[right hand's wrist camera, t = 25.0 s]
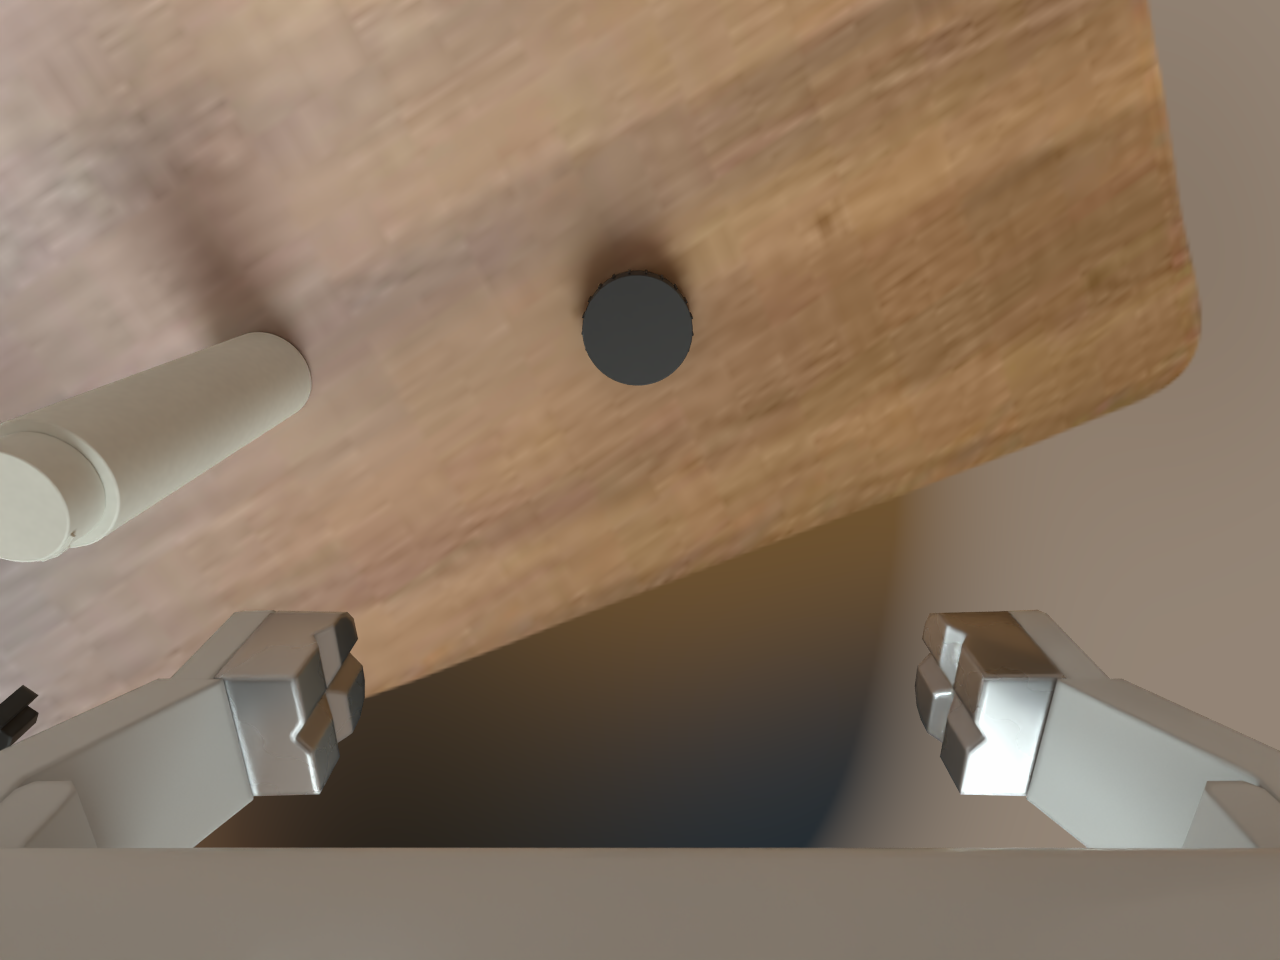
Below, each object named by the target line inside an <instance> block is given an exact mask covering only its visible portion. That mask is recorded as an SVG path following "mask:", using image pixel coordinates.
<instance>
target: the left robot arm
mask: <svg viewBox="0 0 1280 960" xmlns="http://www.w3.org/2000/svg"><path fill="white" fill-rule="evenodd" d="M37 696H38V695H37V694H36V693H34V692H33V691H31V690H30V689H28V688H27V687H25V686H24V685H22V686H21V687H20V688H19V689H18V690H16V691H15V692H14V693H13V694H12V695H10V696H9V697H8V698H7V699H6V700H5V701H3V702H2V703H1V704H0V751H1V750H3V749H5V748H7V747H10V746H11V745H12V744H13V743H14V742H15V741H17V740H18V739H19V738H20V737H21V736H22V735H23V734H24V733H25V732H26V731H27V730H28V729H29V728H31V727H32V726H33V725H34V724H35V723H36V721H37V717H38V712H36V711H35V710H33V709H32V708H30V707H29V706H28V705H29V704H30V703H31V702H32V701H33V700H34V699H35V698H36V697H37Z"/></svg>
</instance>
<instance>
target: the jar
mask: <svg viewBox="0 0 1280 960" xmlns="http://www.w3.org/2000/svg"><path fill="white" fill-rule="evenodd" d="M310 391H311V375H310V371H309V368H308V365H307V363H306V361H305V360H304V358H303V356H302V355H301V354H300V352H299V351H298V350H297V349H296V348H295V347H294V346H293V345H291V344H290V343H289V342H287V341H286V340H284V339H282V338H280V337H278V336H276V335H273V334H269V333H264V332H252V333H247V334H244V335H241V336H238V337H236V338H233V339H230V340H227V341H225V342H222V343H219V344H216V345H214V346H211V347H208V348H205V349H203V350H200V351H197V352H195V353H192V354H189V355H186V356H184V357H181V358H178V359H175V360H173V361H170V362H167V363H165V364H162V365H159V366H156V367H154V368H151V369H148V370H145V371H143V372H140V373H137V374H134V375H132V376H129V377H126V378H124V379H121V380H118V381H115V382H113V383H110V384H107V385H104V386H102V387H99V388H96V389H93V390H91V391H88V392H85V393H83V394H80V395H77V396H74V397H72V398H69V399H66V400H63V401H61V402H58V403H55V404H52V405H50V406H47V407H44V408H42V409H39V410H36V411H33V412H31V413H28V414H25V415H22V416H20V417H17V418H14V419H11V420H9V421H6V422H3V423H1V424H0V558H1V559H5V560H9V561H16V562H35V561H43V562H44V561H47V560H49V559H52V558H54V557H58V556H59V555H61V554H62V553H63V552H64V551H66V550H67V549H68V548H75V547H82V546H86V545H90V544H92V543H95V542H97V541H99V540H100V539H102V538H103V537H105V536H106V535H108V534H110V533H111V532H113V531H114V530H116V529H117V528H119V527H120V526H122V525H123V524H125V523H127V522H128V521H130V520H131V519H133V518H134V517H136V516H137V515H139V514H140V513H142V512H143V511H145V510H147V509H148V508H150V507H151V506H153V505H154V504H156V503H157V502H159V501H160V500H162V499H164V498H165V497H167V496H168V495H170V494H171V493H173V492H174V491H176V490H177V489H179V488H181V487H182V486H184V485H185V484H187V483H188V482H190V481H191V480H193V479H194V478H196V477H197V476H199V475H201V474H202V473H204V472H205V471H207V470H208V469H210V468H211V467H213V466H214V465H216V464H218V463H219V462H221V461H222V460H224V459H225V458H227V457H228V456H230V455H231V454H233V453H235V452H236V451H238V450H239V449H241V448H242V447H244V446H245V445H247V444H248V443H250V442H251V441H253V440H255V439H256V438H258V437H259V436H261V435H262V434H264V433H265V432H267V431H268V430H270V429H272V428H273V427H275V426H276V425H278V424H279V423H281V422H282V421H284V420H285V419H287V418H289V417H290V416H292V415H293V414H295V413H296V412H298V411H299V410H300V409H301V408H302V407H303V406H304V405H305V403H306V402H307V400H308V398H309V395H310Z"/></svg>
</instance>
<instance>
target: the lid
mask: <svg viewBox="0 0 1280 960" xmlns="http://www.w3.org/2000/svg"><path fill="white" fill-rule="evenodd" d="M588 302H589V304H588V307H587V309H586V312H584V314H583V317H582V318H584V319H583V327H582V335H583V341H584V345H585V350H586V351H587V353H588V355H589V357H590V359H591V360H592V362H593V363H594V365H595V366H596V367H597V368H598V369H599V370H600V371H601V372H602V373H603V374H605V375H606V376H608V377H609V378H611V379H613V380H615V381H617V382H620V383H623V384H628V385H647V384H652V383H655V382H658V381H660V380H662V379H664V378H666V377H668V376H669V375H670V374H672V373H673V372H674V371H675V370H676V369H677V368H678V367H679V366H680V365H681V363H682V362H683V361H684V359H685V357H686V355H687V353H688V352H689V348H690V345H691V341H692V336H693V327H692V319H693V317H692V314H691V312H689V309H688V307H687V304H686V303H687V300H686V298H685V297H684V298H683V296H682V294H681V293H680V292H679V290H678V289H677V286H676V285H675V284H674V285H673V284H672V283H671V282H669V281H668V280H667V279H665V278H664V277H663V275H661V276H660V275H657V274H655V273H651V272H648V271H647V270H645V271H631V269H630V270H629V271H628V272H624V273H621V274H618V275H615V274H614V275H613V276H612V278H610V279H609V280H607V281H606V282H605V283H603V284H600V285H599V287H598V289H597V291H596V292H595V293H594V295H593V296H592V297H591V296H590V298H589V301H588Z"/></svg>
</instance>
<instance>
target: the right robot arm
mask: <svg viewBox="0 0 1280 960" xmlns="http://www.w3.org/2000/svg"><path fill="white" fill-rule="evenodd" d="M357 639H358V637H357V632H356V628H355V623H354V619H353V618H352V617H351V615H350V614H349V613H348V612H317V611H274V610H258V611H240V612H235V613H234V614H233V615H232V616H231V617H230V618H229V619H228V620H227V621H226V622H225V623H224V624H223V625H222V626H221V627H220V628H219V629H218V630H217V631H216V632H215V633H214V634H213V635H212V636H211V637H210V638H209V639H208V640H207V641H206V642H205V643H204V644H203V645H202V646H201V647H200V649H199V650H198V651H197V652H196V653H195V654H194V655H193V656H192V657H191V658H190V659H189V660H188V661H187V662H186V663H185V664H184V665H183V666H182V667H181V668H180V669H179V670H178V671H177V672H176V673H175V674H174V675H173V676H172V677H171V678H170V679H157V680H154V681H152V682H150V683H148V684H146V685H144V686H141V687H139V688H137V689H135V690H133V691H130V692H128V693H126V694H124V695H122V696H119V697H117V698H115V699H113V700H111V701H108V702H106V703H104V704H102V705H100V706H97V707H95V708H93V709H91V710H89V711H86V712H84V713H82V714H80V715H78V716H75V717H73V718H71V719H69V720H67V721H64V722H62V723H60V724H58V725H56V726H53V727H51V728H49V729H47V730H45V731H42V732H40V733H38V734H36V735H34V736H31V737H29V738H27V739H25V740H23V741H21V742H18V743H16V744H14V745H12V746H10V747H7V748H5V749H3V750H1V751H0V960H1280V751H1279V750H1277V749H1274V748H1272V747H1270V746H1268V745H1266V744H1263V743H1261V742H1259V741H1257V740H1255V739H1253V738H1250V737H1248V736H1246V735H1244V734H1242V733H1239V732H1237V731H1235V730H1233V729H1231V728H1228V727H1226V726H1224V725H1222V724H1220V723H1217V722H1215V721H1213V720H1211V719H1209V718H1207V717H1204V716H1202V715H1200V714H1198V713H1195V712H1193V711H1191V710H1189V709H1187V708H1185V707H1182V706H1180V705H1178V704H1176V703H1174V702H1171V701H1169V700H1167V699H1165V698H1163V697H1160V696H1158V695H1156V694H1154V693H1152V692H1150V691H1147V690H1145V689H1143V688H1141V687H1139V686H1136V685H1134V684H1132V683H1130V682H1128V681H1125V680H1123V679H1110V678H1109V677H1108V676H1107V675H1106V674H1105V673H1104V672H1103V671H1102V670H1101V669H1100V668H1099V667H1098V666H1097V665H1096V664H1095V663H1094V662H1093V661H1092V660H1091V659H1090V658H1089V657H1088V656H1087V655H1086V654H1085V653H1084V651H1083V650H1082V649H1081V648H1080V647H1079V646H1078V645H1077V644H1076V643H1075V642H1074V641H1073V640H1072V639H1071V638H1070V637H1069V636H1068V635H1067V634H1066V633H1065V632H1064V631H1063V630H1062V629H1061V628H1060V627H1059V626H1058V625H1057V624H1056V623H1055V622H1054V621H1053V620H1052V619H1051V618H1050V616H1049V615H1047V614H1046V613H1044V612H1041V611H1039V610H1024V611H1000V612H961V613H930V614H929V616H928V618H927V620H926V622H925V626H924V632H923V637H922V639H923V641H924V643H925V644H926V646H927V648H928V649H929V651H930V653H929V655H928V656H927V657H926V658H925V659H924V660H923V661H922V662H921V663H920V664H919V665H918V666H917V674H916V682H915V692H916V704H917V708H918V711H919V715H920V718H921V721H922V723H923V725H924V727H925V729H926V731H927V733H929V734H930V735H932V736H933V737H935V738H936V739H938V740H939V741H941V742H942V743H943V744H942V749H941V755H940V757H941V759H942V761H943V763H944V765H945V766H946V768H947V770H948V772H949V774H950V776H951V778H952V779H953V781H954V783H955V785H956V787H957V789H958V791H959V792H960V794H976V795H1011V796H1027V798H1026V799H1027V800H1028V801H1030V802H1031V803H1032V804H1033V805H1035V806H1036V807H1037V808H1038V809H1040V810H1041V811H1042V812H1043V813H1045V814H1046V815H1047V816H1048V817H1050V818H1051V819H1052V820H1053V821H1055V822H1056V823H1057V824H1058V825H1060V826H1061V827H1062V828H1063V829H1065V830H1066V831H1067V832H1069V833H1070V834H1071V835H1072V836H1074V837H1075V838H1076V839H1077V840H1079V841H1080V842H1081V843H1082V844H1084V845H1085V846H1086V847H1087V848H193V847H194V846H195V845H197V844H198V843H199V842H200V841H202V840H203V839H204V838H205V837H207V836H208V835H209V834H210V833H212V832H213V831H214V830H215V829H217V828H218V827H219V826H221V825H222V824H223V823H224V822H226V821H227V820H228V819H229V818H231V817H232V816H233V815H234V814H236V813H237V812H238V811H239V810H241V809H242V808H243V807H244V806H246V805H247V804H248V803H249V802H251V801H252V800H253V796H268V795H304V794H320V793H321V791H322V789H323V787H324V785H325V783H326V781H327V780H328V778H329V776H330V774H331V772H332V770H333V768H334V766H335V765H336V763H337V761H338V759H339V757H340V754H339V749H338V744H337V743H338V742H339V741H341V740H342V739H344V738H345V737H347V736H348V735H350V734H351V733H353V731H354V729H355V727H356V725H357V723H358V721H359V719H360V715H361V711H362V707H363V702H364V698H365V679H364V673H363V666H362V665H361V664H360V663H359V662H358V661H357V660H356V659H355V658H354V657H353V656H352V655H351V653H350V651H351V649H352V648H353V646H354V644H355V643H356V641H357Z"/></svg>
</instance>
